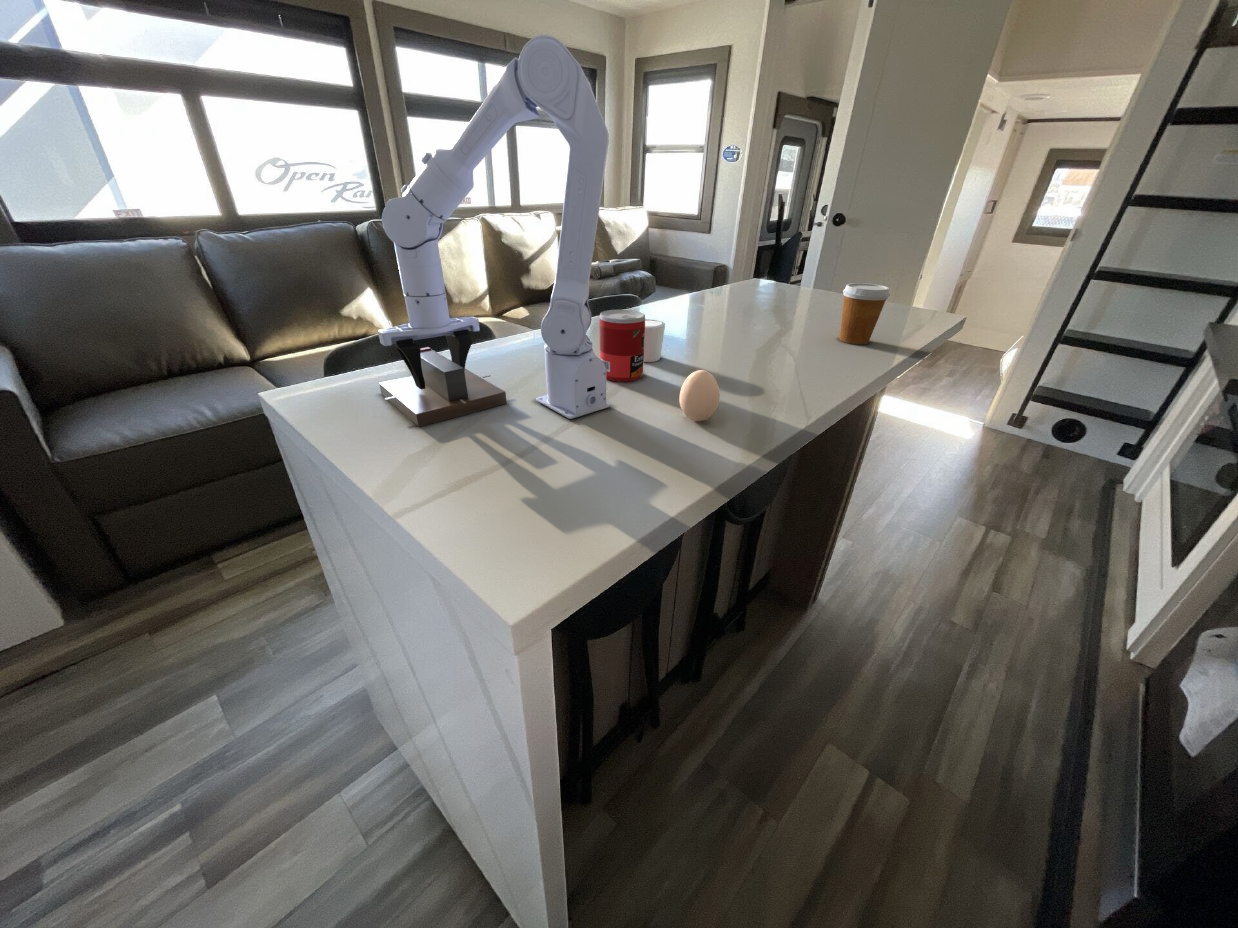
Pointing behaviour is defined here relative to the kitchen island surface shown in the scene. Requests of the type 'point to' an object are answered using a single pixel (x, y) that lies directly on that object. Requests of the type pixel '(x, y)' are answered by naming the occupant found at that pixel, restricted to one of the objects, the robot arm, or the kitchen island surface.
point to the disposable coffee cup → (861, 311)
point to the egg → (699, 395)
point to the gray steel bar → (443, 375)
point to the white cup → (653, 340)
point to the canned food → (622, 344)
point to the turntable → (440, 399)
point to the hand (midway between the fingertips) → (440, 382)
